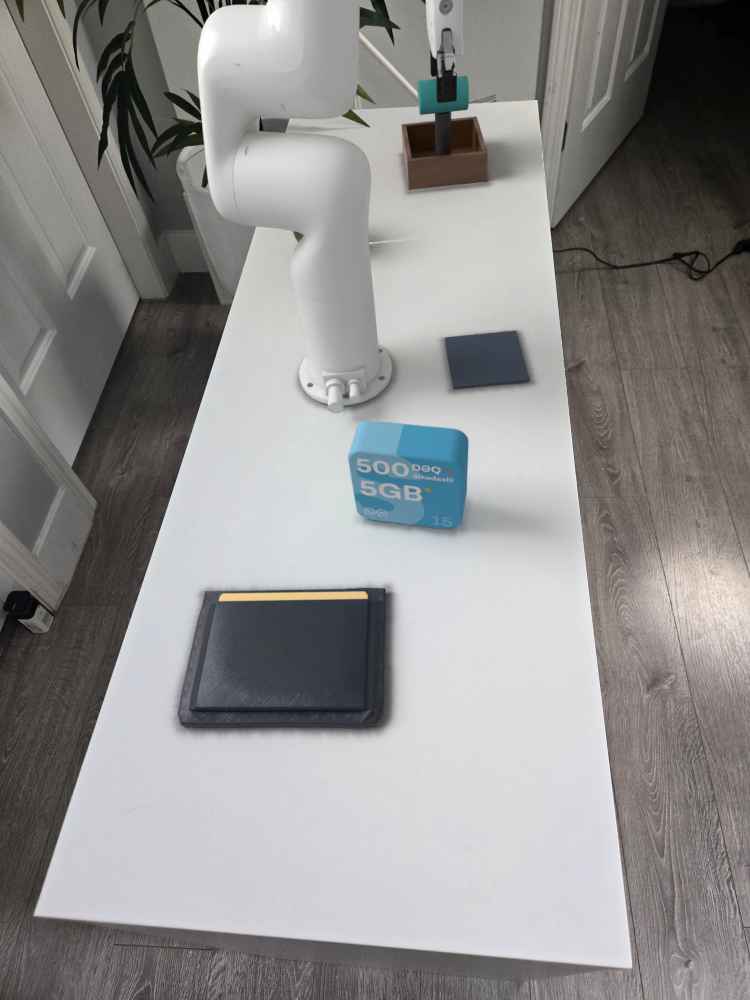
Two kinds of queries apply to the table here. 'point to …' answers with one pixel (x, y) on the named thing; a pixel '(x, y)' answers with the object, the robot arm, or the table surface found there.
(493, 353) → the mat
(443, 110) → the mallet
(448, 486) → the data package
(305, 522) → the table surface
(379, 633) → the wallet
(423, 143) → the open wooden box
